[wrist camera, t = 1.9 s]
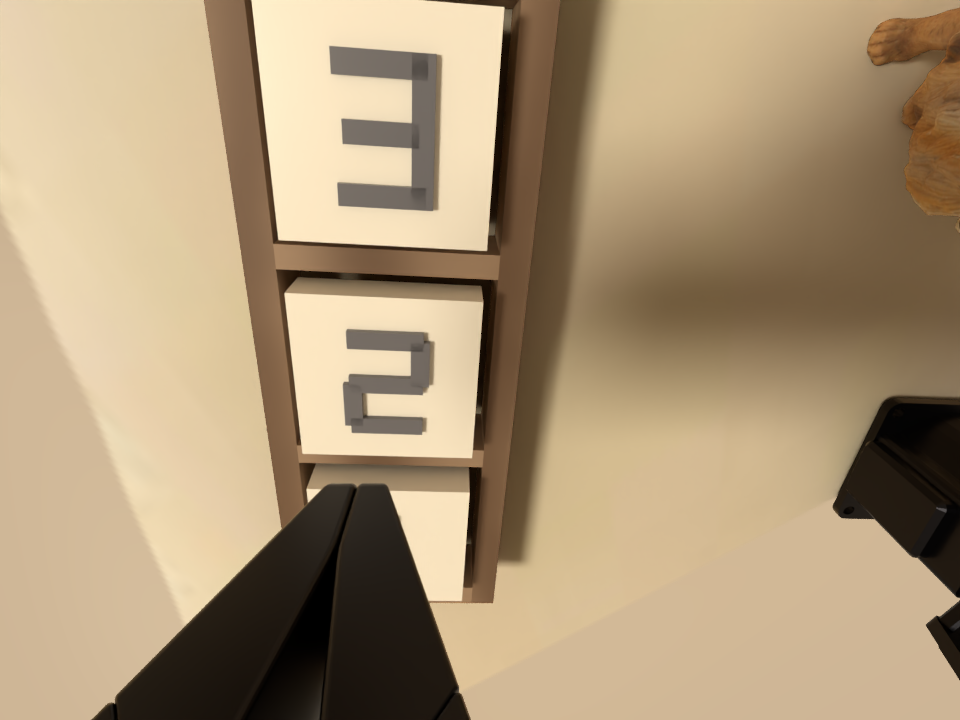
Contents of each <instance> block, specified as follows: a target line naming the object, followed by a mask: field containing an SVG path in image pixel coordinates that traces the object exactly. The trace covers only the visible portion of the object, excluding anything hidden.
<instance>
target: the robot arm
mask: <svg viewBox="0 0 960 720" xmlns="http://www.w3.org/2000/svg"><path fill="white" fill-rule="evenodd" d="M833 509H834V511H835V512H836V513H837V514H838V515H839V516H840V517H841V518H849V519H875V520H876V521H877V522H878V523H879V524H880V525H881V526H882V527H883V528H884V529H885V530H886V531H887V532H888V533H889V534H890V535H891V536H892V537H893V538H894V539H895V540H896V542H897V543H899V545H900V546H901V547H902V548H903V549H904V550H905V551H906V552H907V553H908V554H909V555H910V556H912V557H915V558H918V559H919V560H920V561H921V562H922V563H923V564H924V565H925V566H926V567H927V568H928V569H929V570H930V571H931V572H932V573H933V574H934V575H935V576H936V577H937V578H938V579H939V580H940V581H941V582H942V583H943V584H945V586H946V587H947V588H948V589H949V590H950V591H951V592H952V593H953V594H954V595H955V596H956V597H958V598H960V400H939V399H912V398H893V399H890V400H888V401H886V402H885V403H884V404H883V405H882V407H881V408H880V410H879V412H878V414H877V416H876V418H875V420H874V423H873V425H872V427H871V429H870V431H869V433H868V435H867V437H866V439H865V441H864V443H863V445H862V447H861V449H860V451H859V453H858V455H857V457H856V459H855V461H854V463H853V465H852V467H851V470H850V472H849V474H848V476H847V478H846V480H845V482H844V484H843V486H842V488H841V490H840V492H839V494H838V496H837V498H836V500H835V502H834V504H833ZM926 626H927V628H928V630H929V631H930V633H931V634H932V636H933V637H934V639H935V641H936V642H937V644H938V645H939V649H940V650H941V652H942V653H943V655H944V656H945V658H946V659H947V661H948V663H949V664H950V665H951V667H952V669H953V670H954V672H955V673H956V675H957V676H958V678H959V680H960V601H959V602H957V603H956V604H955V605H954V606H953V607H951V608H950V609H949V610H948V611H946V612H945V613H944V614H943V615H942V616H940V617H939V616H936V617H934V618H933V619H932V620H931V621H930V622H928V623H927V624H926ZM92 720H471V719H470V716H469V713H468V711H467V708H466V705H465V702H464V699H463V697H462V694H460V693H459V686H458V683H457V680H456V678H455V675H454V672H453V669H452V666H451V663H450V661H449V658H448V655H447V652H446V649H445V646H444V644H443V641H442V638H441V635H440V632H439V629H438V626H437V624H436V621H435V618H434V615H433V612H432V609H431V607H430V604H429V601H428V598H427V595H426V592H425V590H424V587H423V584H422V581H421V578H420V575H419V573H418V570H417V567H416V564H415V561H414V558H413V556H412V553H411V550H410V547H409V544H408V541H407V538H406V536H405V533H404V530H403V527H402V524H401V521H400V519H399V516H398V513H397V510H396V507H395V504H394V502H393V499H392V496H391V493H390V490H389V488H388V486H387V485H386V484H384V483H362V484H360V485H359V486H358V487H357V486H356V485H355V484H353V483H331V484H328V485H326V486H324V487H323V488H322V489H321V490H320V491H319V492H318V493H317V494H316V495H315V496H314V497H313V498H312V499H311V500H310V501H309V502H308V503H307V504H306V505H305V506H304V507H303V508H302V509H301V510H300V511H299V512H298V513H297V514H296V515H295V516H294V517H293V518H292V519H291V520H290V521H289V522H288V523H287V524H286V525H285V526H284V527H283V528H282V529H281V530H280V531H279V532H278V533H277V534H276V535H275V536H274V537H273V538H272V539H271V540H270V541H269V542H268V543H267V545H266V546H265V547H264V548H263V549H262V550H261V551H260V552H259V553H258V554H257V555H256V556H255V557H254V558H253V559H252V560H251V561H250V562H249V563H248V564H247V565H246V566H245V567H244V568H243V569H242V570H241V571H240V572H239V573H238V574H237V575H236V576H235V577H234V578H233V579H232V580H231V581H230V582H229V583H228V584H227V585H226V586H225V587H224V588H223V589H222V590H221V591H220V592H219V593H218V594H217V595H216V596H215V597H214V598H213V599H212V600H211V601H210V602H209V603H208V604H207V605H206V606H205V607H204V608H203V609H202V610H201V611H200V612H199V613H198V614H197V615H196V616H195V617H194V618H193V619H192V620H191V621H190V622H189V623H188V624H187V625H186V626H185V627H184V628H183V629H182V630H181V631H180V632H179V633H178V634H177V635H176V636H175V637H174V638H173V639H172V640H171V641H170V642H169V643H168V644H167V645H166V646H165V647H164V648H163V649H162V650H161V651H160V652H159V653H158V654H157V655H156V656H155V657H154V658H153V659H152V660H151V661H150V662H149V663H148V664H147V665H146V666H145V667H144V668H143V669H142V670H141V671H140V672H139V673H138V674H137V675H136V676H135V677H134V678H133V679H132V680H131V681H130V682H129V683H128V684H127V685H126V686H125V687H124V688H123V689H122V690H121V691H120V692H119V693H118V694H117V695H116V698H115V704H114V703H108V704H107V705H106V706H105V707H104V708H103V709H102V710H101V711H100V712H99V713H98V714H97V715H96V716H95V717H94V718H93V719H92Z"/></svg>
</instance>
